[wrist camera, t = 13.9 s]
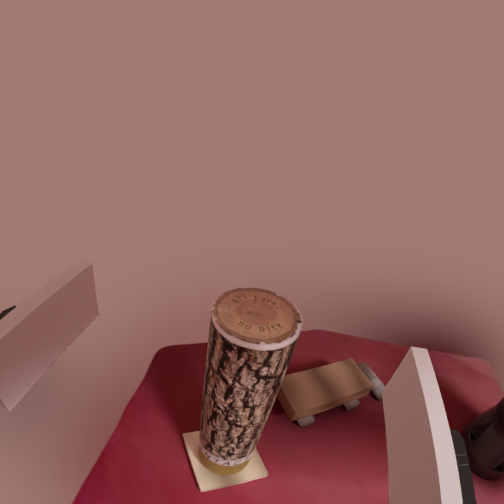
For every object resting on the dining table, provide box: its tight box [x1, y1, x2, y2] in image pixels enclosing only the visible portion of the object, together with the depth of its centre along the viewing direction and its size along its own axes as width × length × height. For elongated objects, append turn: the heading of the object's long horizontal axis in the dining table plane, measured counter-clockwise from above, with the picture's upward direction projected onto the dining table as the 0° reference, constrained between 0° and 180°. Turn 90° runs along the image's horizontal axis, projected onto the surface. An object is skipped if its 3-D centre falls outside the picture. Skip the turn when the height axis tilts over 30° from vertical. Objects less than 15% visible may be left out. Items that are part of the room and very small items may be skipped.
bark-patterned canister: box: [198, 288, 302, 475], centre depth 28 cm, size 7×7×25 cm
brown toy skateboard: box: [277, 358, 385, 427], centre depth 45 cm, size 20×8×5 cm, turn 111°
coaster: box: [183, 431, 268, 492], centre depth 34 cm, size 9×9×1 cm
